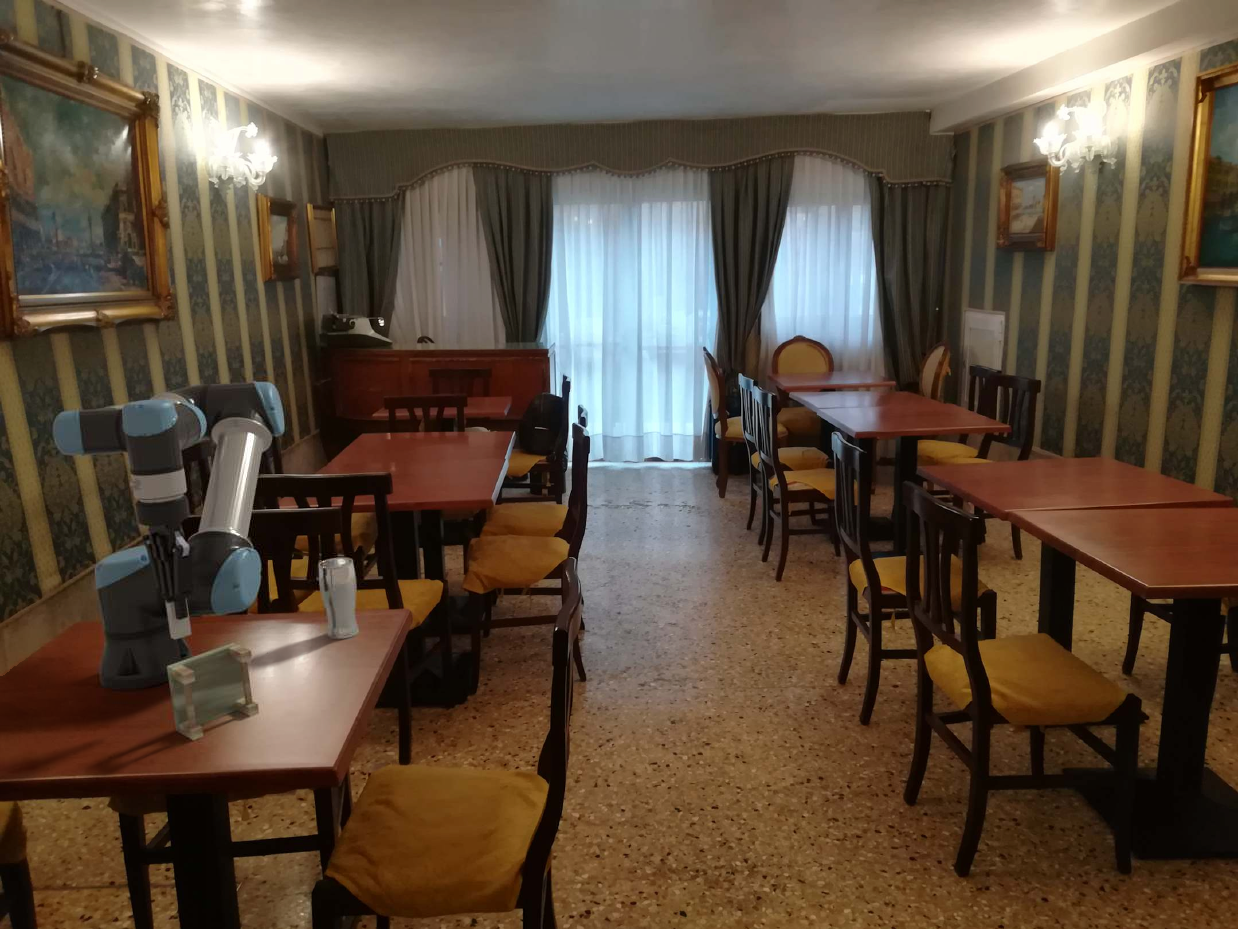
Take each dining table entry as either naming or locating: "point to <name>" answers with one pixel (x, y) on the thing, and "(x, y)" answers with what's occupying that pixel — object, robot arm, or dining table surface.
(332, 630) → the beer glass
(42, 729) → the dining table surface
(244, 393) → the robot arm
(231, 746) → the dining table surface
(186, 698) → the footstool
